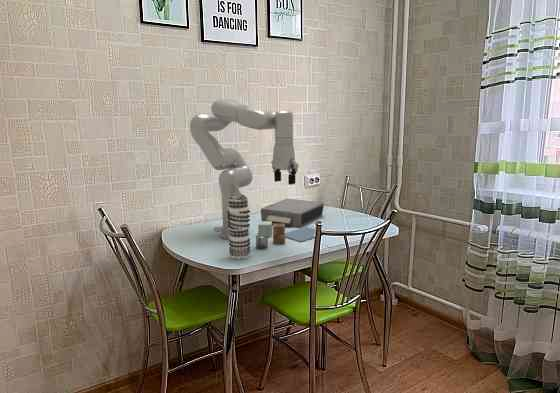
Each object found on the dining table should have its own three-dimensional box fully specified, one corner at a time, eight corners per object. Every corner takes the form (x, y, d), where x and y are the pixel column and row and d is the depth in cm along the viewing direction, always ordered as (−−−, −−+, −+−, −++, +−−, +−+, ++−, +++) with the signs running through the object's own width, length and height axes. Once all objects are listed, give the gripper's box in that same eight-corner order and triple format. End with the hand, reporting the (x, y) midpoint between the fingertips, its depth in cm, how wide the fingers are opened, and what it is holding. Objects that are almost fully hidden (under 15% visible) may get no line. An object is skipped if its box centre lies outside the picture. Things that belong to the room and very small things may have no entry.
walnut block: (273, 244, 183) (272, 226, 181) (273, 240, 188) (273, 223, 186) (284, 244, 183) (284, 226, 181) (285, 240, 188) (284, 223, 186)
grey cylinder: (255, 249, 176) (255, 238, 175) (256, 245, 181) (256, 234, 180) (267, 249, 176) (267, 238, 175) (268, 245, 181) (268, 234, 180)
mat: (300, 242, 184) (300, 241, 184) (279, 235, 195) (279, 234, 194) (327, 234, 196) (327, 232, 196) (306, 228, 206) (306, 227, 206)
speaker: (298, 230, 205) (324, 216, 230) (298, 214, 203) (324, 202, 228) (258, 224, 217) (287, 211, 242) (257, 209, 215) (287, 198, 240)
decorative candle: (251, 251, 174) (250, 192, 169) (251, 259, 165) (249, 197, 160) (229, 251, 174) (227, 193, 169) (227, 259, 165) (225, 197, 159)
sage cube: (258, 237, 194) (258, 224, 192) (259, 233, 199) (259, 221, 198) (271, 237, 193) (271, 224, 192) (272, 233, 199) (272, 221, 198)
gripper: (264, 141, 176) (265, 181, 180) (289, 143, 162) (290, 186, 166) (278, 140, 180) (279, 179, 184) (304, 142, 167) (304, 184, 170)
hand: (284, 182), depth 175 cm, fingers open, 9 cm apart
